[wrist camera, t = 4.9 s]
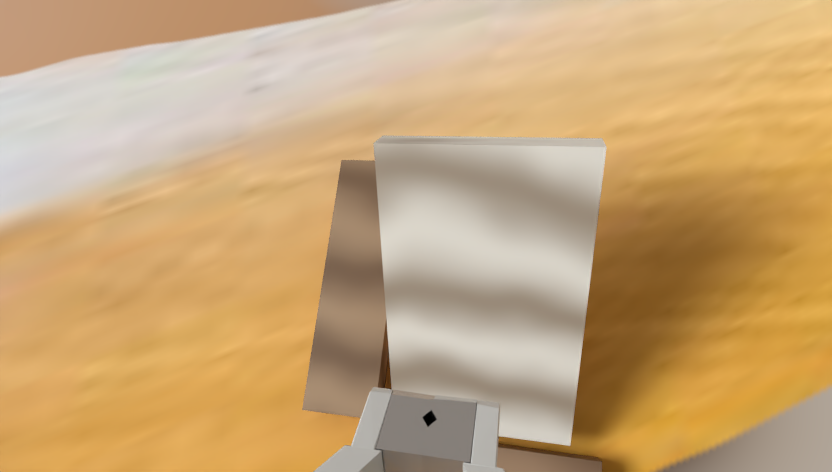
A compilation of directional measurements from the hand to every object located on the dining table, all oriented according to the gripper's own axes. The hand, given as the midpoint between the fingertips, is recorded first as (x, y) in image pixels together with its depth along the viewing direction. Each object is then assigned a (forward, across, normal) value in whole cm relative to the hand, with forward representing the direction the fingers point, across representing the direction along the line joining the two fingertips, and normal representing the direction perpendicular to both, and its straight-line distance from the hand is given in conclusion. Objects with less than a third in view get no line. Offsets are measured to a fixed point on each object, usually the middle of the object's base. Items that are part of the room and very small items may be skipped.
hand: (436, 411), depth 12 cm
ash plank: (+18, 0, -10) cm, 20 cm away
